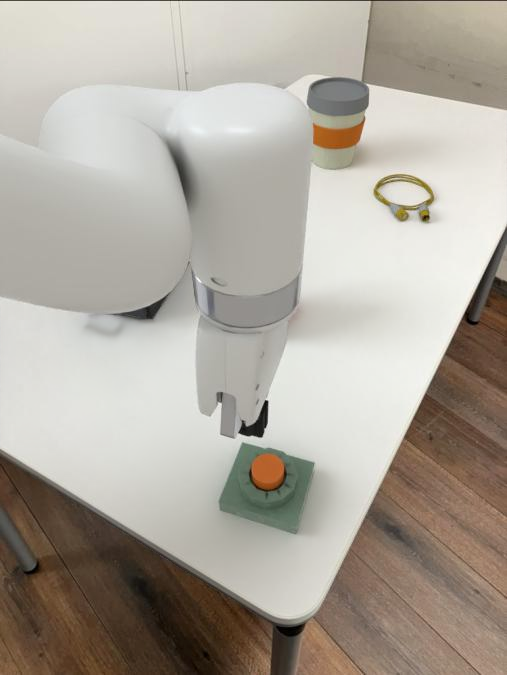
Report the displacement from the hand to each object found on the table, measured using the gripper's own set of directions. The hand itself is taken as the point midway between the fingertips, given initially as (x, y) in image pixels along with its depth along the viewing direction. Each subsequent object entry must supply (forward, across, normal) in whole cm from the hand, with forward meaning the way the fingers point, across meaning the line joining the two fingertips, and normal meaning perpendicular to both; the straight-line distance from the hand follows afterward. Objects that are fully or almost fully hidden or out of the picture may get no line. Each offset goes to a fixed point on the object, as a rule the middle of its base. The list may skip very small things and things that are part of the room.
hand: (249, 427), depth 49 cm
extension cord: (+14, -68, +9) cm, 70 cm away
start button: (+11, -1, +2) cm, 11 cm away
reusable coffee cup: (+14, -80, -8) cm, 82 cm away
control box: (+14, -1, +2) cm, 14 cm away
